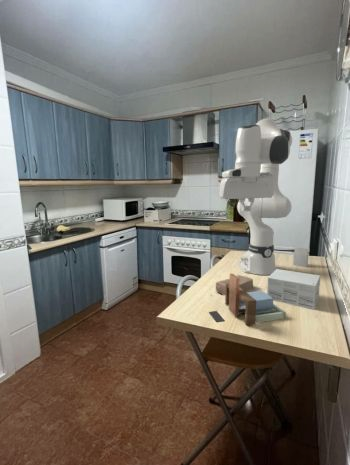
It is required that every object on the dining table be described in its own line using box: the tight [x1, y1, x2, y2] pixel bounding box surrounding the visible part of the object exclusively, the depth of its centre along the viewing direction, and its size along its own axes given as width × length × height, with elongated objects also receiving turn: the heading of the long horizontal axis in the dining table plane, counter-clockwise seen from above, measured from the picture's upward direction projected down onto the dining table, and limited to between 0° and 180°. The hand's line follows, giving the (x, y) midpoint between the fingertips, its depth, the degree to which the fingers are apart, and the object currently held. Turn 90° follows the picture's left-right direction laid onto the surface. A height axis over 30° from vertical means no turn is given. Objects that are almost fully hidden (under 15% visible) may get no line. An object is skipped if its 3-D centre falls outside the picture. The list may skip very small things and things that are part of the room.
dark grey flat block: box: [208, 310, 225, 323], centre depth 88 cm, size 7×3×1 cm, turn 14°
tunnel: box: [224, 283, 256, 327], centre depth 90 cm, size 16×3×8 cm, turn 14°
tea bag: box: [292, 246, 309, 268], centre depth 142 cm, size 4×7×10 cm, turn 54°
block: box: [247, 290, 274, 311], centre depth 91 cm, size 7×8×6 cm
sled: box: [228, 273, 276, 317], centre depth 90 cm, size 11×14×13 cm
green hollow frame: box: [255, 303, 287, 323], centre depth 92 cm, size 14×11×2 cm
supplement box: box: [266, 268, 321, 310], centre depth 101 cm, size 17×13×9 cm
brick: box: [215, 274, 254, 296], centre depth 111 cm, size 17×8×5 cm, turn 130°
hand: (246, 210), depth 94 cm, fingers closed
